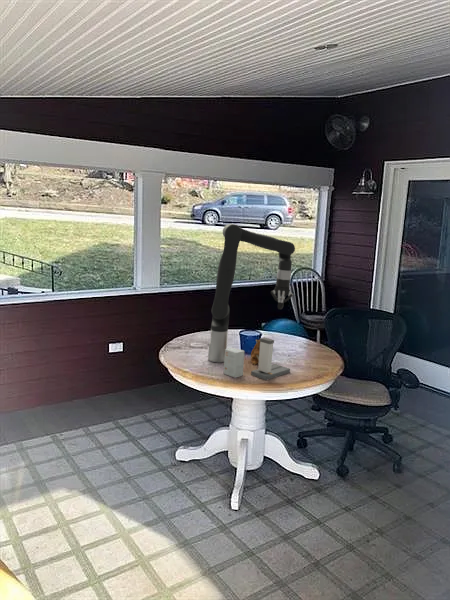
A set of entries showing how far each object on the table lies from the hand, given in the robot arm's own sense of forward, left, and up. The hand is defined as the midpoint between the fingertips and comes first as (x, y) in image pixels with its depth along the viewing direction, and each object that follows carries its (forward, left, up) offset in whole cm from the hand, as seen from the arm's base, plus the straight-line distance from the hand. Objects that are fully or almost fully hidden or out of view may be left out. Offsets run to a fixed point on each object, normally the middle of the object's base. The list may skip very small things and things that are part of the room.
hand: (280, 309), depth 274 cm
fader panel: (+2, -22, -30) cm, 38 cm away
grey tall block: (0, -27, -28) cm, 39 cm away
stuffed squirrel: (-9, -5, -30) cm, 32 cm away
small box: (-15, -33, -30) cm, 48 cm away
